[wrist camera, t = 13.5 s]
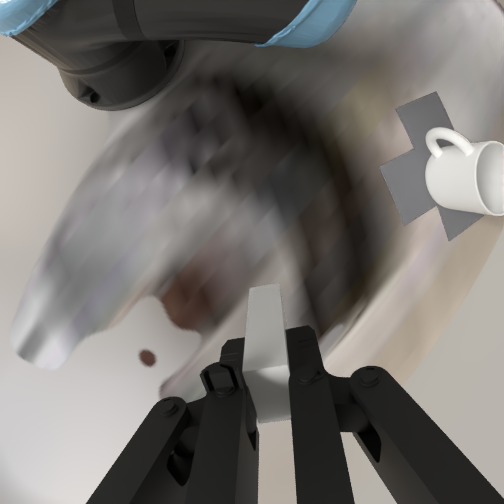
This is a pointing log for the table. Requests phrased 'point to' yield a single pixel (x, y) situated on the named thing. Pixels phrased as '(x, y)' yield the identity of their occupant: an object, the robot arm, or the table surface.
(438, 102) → the t mat
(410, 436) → the robot arm
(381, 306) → the table surface
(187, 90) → the table surface
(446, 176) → the mug
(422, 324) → the table surface
